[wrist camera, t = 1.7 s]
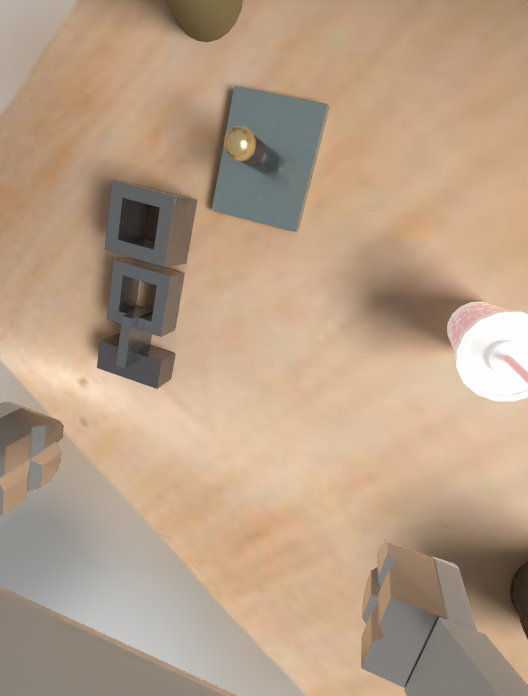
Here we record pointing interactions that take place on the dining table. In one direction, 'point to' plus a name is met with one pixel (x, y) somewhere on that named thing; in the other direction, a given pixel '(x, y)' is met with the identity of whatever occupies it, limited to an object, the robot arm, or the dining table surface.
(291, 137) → the grey plate with post
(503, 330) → the beverage cup
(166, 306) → the chain tail
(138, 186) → the end link
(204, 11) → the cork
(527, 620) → the pillar candle
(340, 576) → the dining table surface
